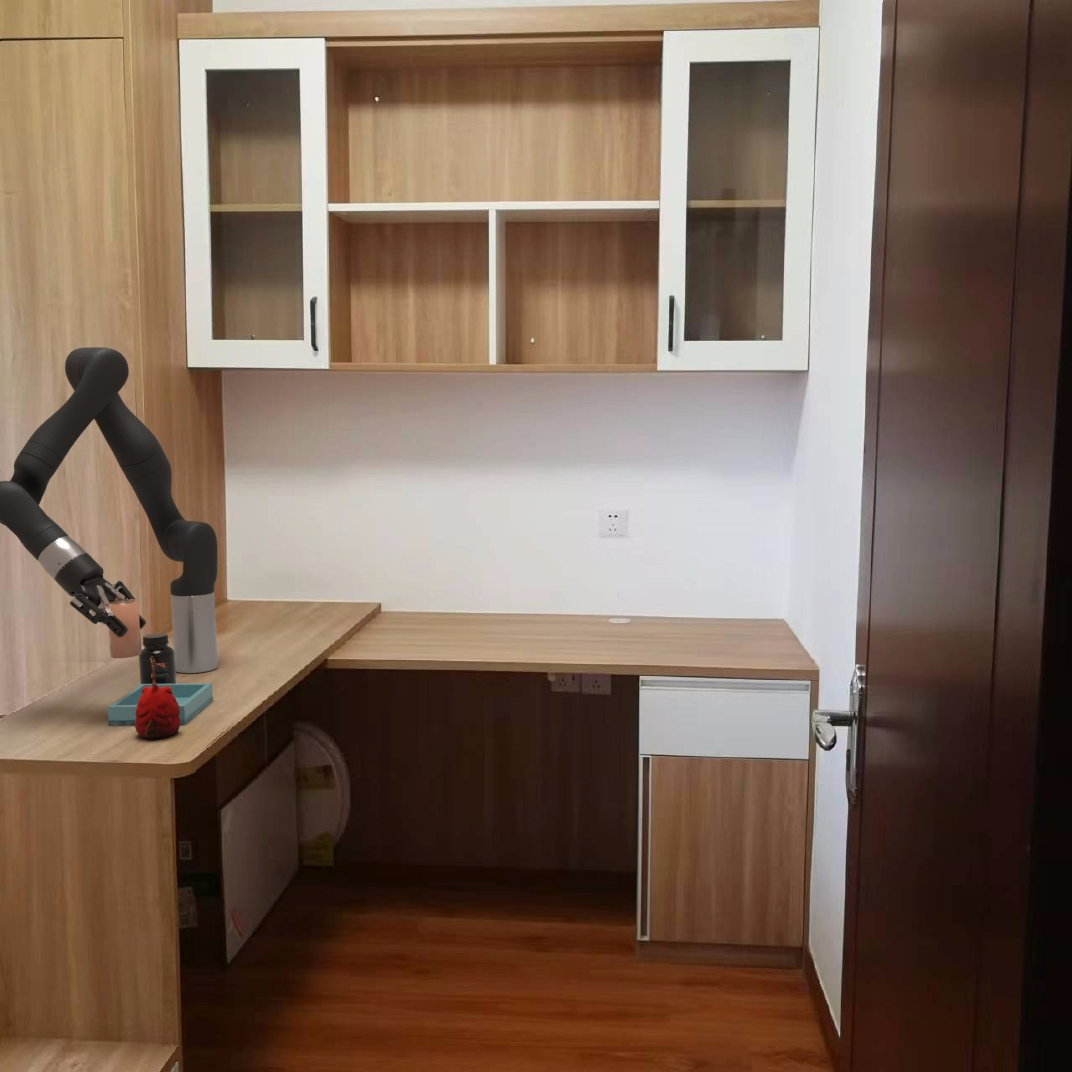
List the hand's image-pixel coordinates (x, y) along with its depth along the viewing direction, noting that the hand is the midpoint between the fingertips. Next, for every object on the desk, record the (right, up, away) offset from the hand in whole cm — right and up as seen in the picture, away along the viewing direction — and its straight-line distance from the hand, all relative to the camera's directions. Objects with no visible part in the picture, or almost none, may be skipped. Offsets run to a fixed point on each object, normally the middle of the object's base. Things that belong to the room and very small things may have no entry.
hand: (133, 630), depth 188 cm
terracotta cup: (-2, -5, +1) cm, 5 cm away
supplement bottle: (-2, -15, +18) cm, 24 cm away
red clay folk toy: (+8, -18, -9) cm, 22 cm away
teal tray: (+4, -16, +4) cm, 17 cm away
